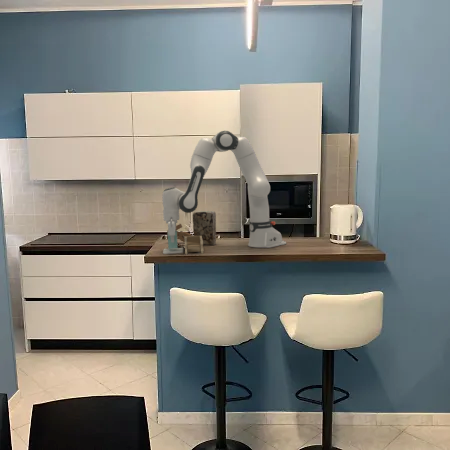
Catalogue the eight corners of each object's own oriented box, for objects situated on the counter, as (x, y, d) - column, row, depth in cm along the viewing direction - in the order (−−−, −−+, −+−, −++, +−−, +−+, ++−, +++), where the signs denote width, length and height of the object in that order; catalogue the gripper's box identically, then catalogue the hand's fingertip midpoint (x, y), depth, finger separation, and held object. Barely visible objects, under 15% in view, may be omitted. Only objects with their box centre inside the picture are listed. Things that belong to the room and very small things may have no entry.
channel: (185, 248, 277) (184, 236, 276) (202, 247, 278) (201, 235, 277) (185, 254, 260) (184, 241, 259) (203, 253, 261) (202, 240, 260)
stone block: (217, 243, 289) (215, 210, 286) (214, 245, 282) (213, 212, 279) (196, 243, 292) (194, 210, 289) (193, 245, 285) (191, 212, 282)
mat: (163, 250, 274) (163, 248, 274) (183, 249, 275) (183, 247, 275) (163, 254, 263) (162, 252, 263) (183, 252, 264) (183, 251, 264)
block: (168, 247, 271) (167, 231, 270) (177, 246, 272) (176, 230, 270) (168, 248, 266) (167, 232, 265) (177, 248, 267) (176, 232, 265)
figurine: (185, 249, 293) (164, 239, 296) (186, 248, 296) (165, 239, 299) (192, 230, 290) (170, 220, 293) (193, 229, 292) (172, 219, 295)
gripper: (176, 218, 256) (178, 244, 258) (177, 214, 277) (178, 238, 279) (165, 219, 256) (166, 244, 258) (166, 215, 276) (167, 238, 278)
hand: (172, 241), depth 268 cm, fingers closed on block, 5 cm apart
